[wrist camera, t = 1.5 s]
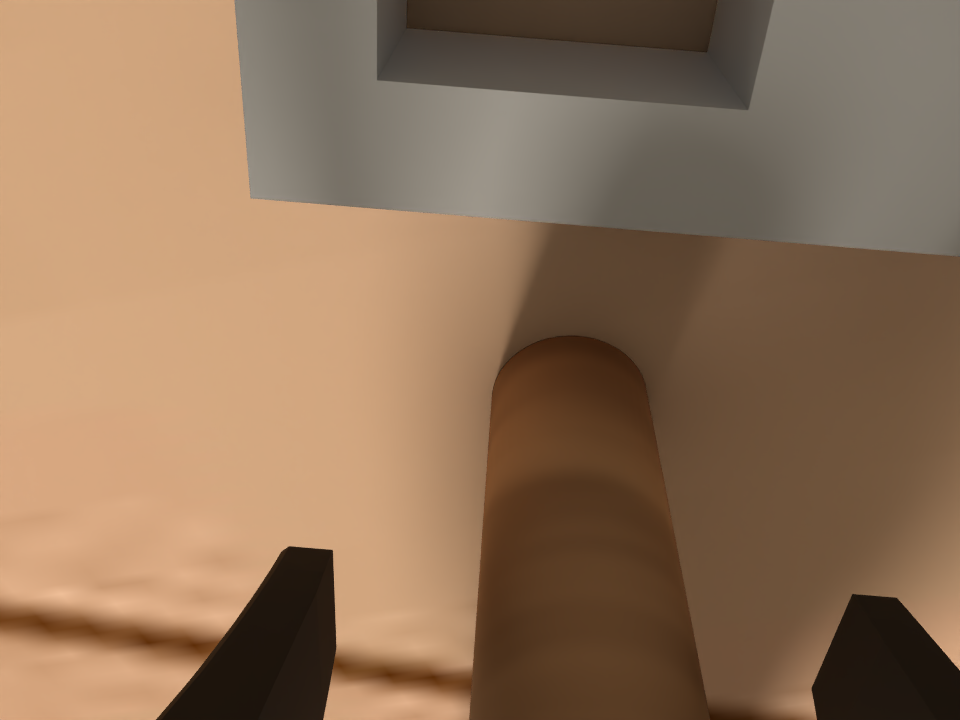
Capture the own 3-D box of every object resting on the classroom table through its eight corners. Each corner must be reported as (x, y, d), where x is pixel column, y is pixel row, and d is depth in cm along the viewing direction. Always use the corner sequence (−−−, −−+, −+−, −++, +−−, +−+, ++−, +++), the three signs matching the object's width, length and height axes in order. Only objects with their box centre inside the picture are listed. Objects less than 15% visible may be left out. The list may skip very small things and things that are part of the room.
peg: (633, 468, 18) (696, 876, 11) (486, 456, 18) (457, 855, 11) (659, 343, 16) (751, 731, 9) (497, 329, 16) (472, 707, 9)
